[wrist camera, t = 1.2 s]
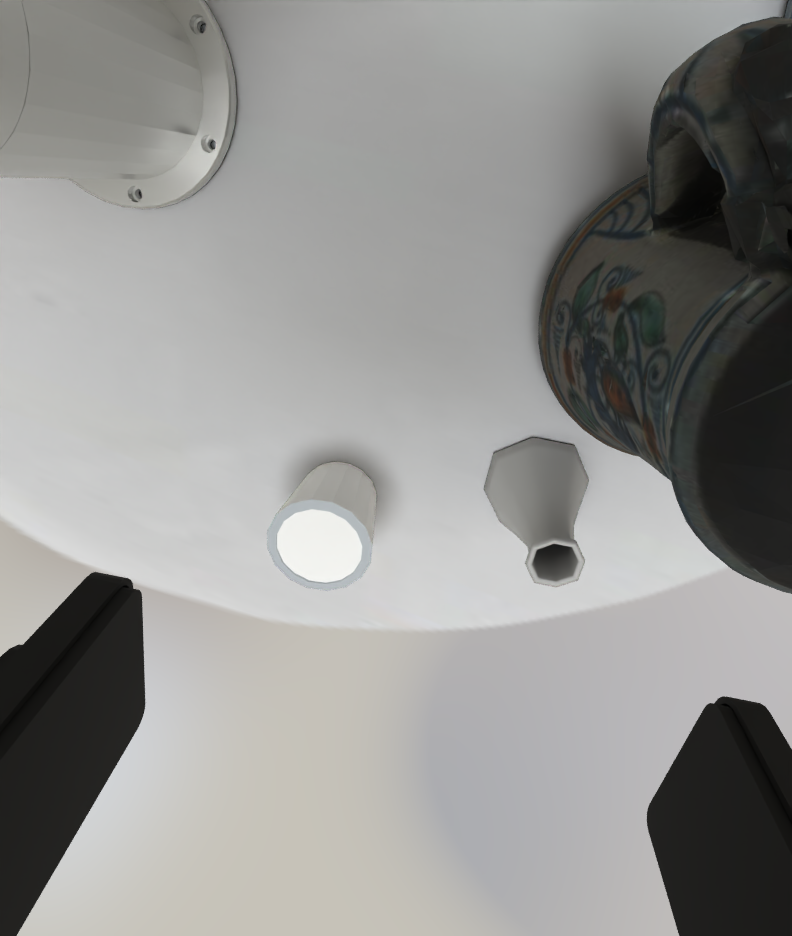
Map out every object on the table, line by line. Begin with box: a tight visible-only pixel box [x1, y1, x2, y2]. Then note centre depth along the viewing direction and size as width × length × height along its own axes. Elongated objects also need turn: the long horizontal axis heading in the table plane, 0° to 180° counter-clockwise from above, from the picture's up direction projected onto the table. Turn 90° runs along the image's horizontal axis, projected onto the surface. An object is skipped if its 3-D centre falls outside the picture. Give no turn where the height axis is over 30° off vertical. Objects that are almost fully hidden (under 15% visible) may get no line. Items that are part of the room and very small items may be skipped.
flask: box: [484, 438, 589, 587], centre depth 37 cm, size 7×7×10 cm
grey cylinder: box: [267, 461, 377, 591], centre depth 41 cm, size 7×7×7 cm
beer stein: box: [539, 17, 792, 594], centre depth 24 cm, size 16×19×25 cm
